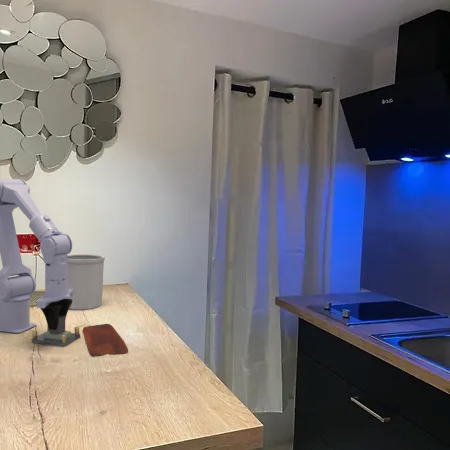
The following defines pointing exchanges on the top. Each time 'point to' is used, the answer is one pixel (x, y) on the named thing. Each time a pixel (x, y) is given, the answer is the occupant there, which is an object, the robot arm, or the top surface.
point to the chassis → (55, 342)
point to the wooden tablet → (104, 340)
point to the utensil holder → (85, 279)
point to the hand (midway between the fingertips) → (56, 327)
